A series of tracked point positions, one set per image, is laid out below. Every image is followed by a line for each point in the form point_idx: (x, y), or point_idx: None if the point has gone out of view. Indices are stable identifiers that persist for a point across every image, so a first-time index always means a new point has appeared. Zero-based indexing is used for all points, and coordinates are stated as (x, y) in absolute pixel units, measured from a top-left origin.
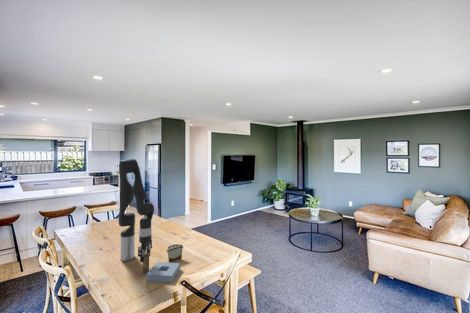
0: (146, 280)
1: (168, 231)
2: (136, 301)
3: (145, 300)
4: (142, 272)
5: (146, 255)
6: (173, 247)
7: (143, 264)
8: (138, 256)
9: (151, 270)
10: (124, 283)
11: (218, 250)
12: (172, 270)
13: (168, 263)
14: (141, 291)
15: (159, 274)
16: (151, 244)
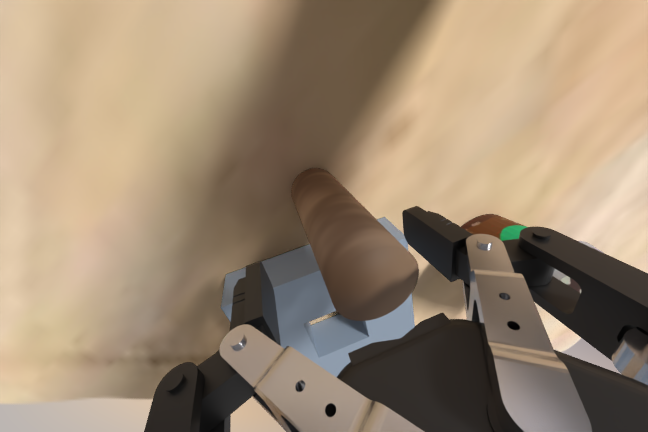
0: (227, 277)
1: None
2: (37, 380)
3: (86, 396)
4: (297, 177)
5: (343, 312)
6: (575, 282)
7: (303, 222)
8: (168, 385)
9: (284, 295)
10: (91, 172)
11: (561, 324)
12: (335, 370)
13: (402, 307)
14: (124, 333)
15: None
16: (588, 329)
